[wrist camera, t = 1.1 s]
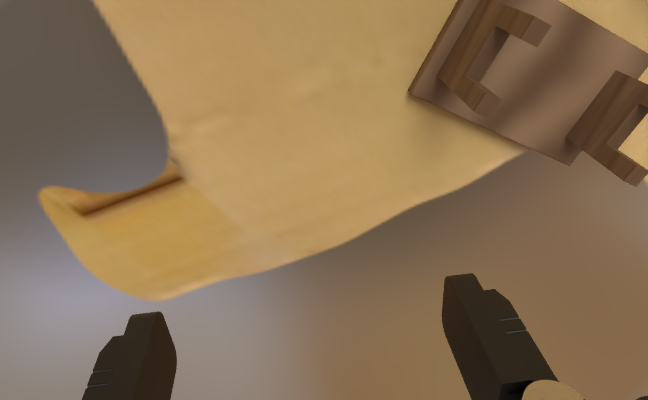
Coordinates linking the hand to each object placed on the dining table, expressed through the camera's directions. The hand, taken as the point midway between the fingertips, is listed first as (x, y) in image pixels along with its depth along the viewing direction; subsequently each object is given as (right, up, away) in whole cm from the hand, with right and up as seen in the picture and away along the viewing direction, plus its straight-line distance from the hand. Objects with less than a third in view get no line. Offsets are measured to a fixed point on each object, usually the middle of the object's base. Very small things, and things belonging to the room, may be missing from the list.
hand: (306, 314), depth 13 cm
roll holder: (+16, +13, +23) cm, 31 cm away
